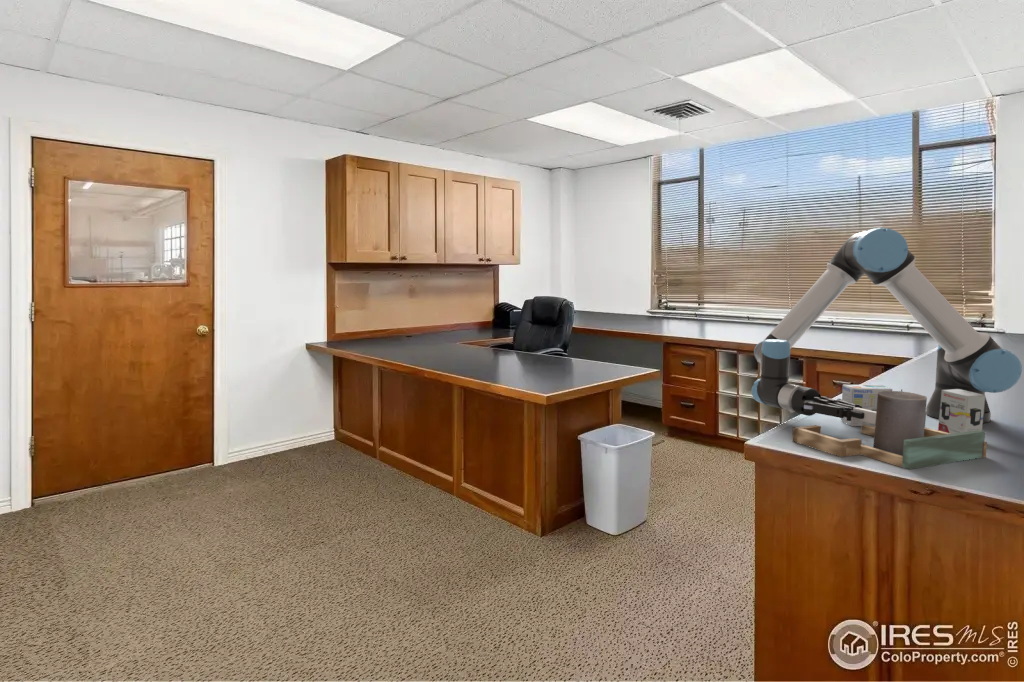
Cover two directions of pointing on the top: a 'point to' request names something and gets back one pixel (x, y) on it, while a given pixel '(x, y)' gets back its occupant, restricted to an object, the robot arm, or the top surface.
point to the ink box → (961, 411)
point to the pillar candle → (898, 419)
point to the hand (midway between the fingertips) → (878, 418)
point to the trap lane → (915, 451)
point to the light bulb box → (862, 399)
